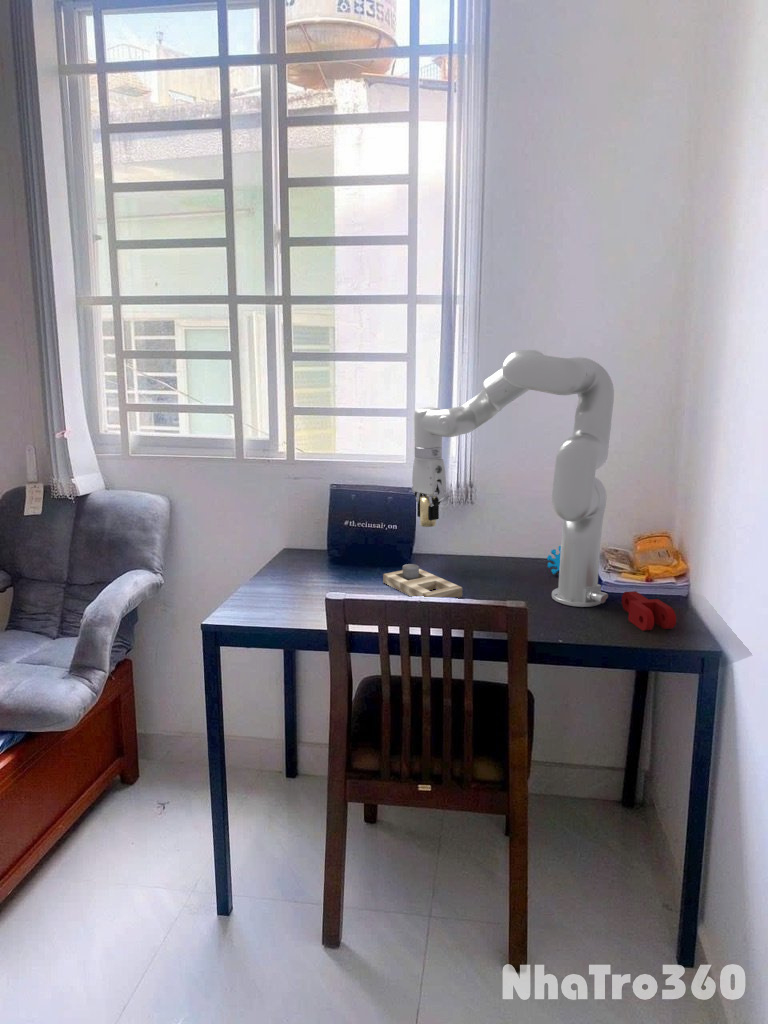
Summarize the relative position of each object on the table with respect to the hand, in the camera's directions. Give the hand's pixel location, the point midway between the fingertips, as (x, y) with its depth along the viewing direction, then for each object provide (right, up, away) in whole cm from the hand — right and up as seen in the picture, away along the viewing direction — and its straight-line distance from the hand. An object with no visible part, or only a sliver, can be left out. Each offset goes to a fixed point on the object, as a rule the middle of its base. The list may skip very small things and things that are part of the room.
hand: (427, 517), depth 205 cm
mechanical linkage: (+49, -24, -32) cm, 63 cm away
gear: (+39, -16, 0) cm, 42 cm away
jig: (-2, -19, -13) cm, 23 cm away
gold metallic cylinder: (0, -2, +1) cm, 2 cm away
